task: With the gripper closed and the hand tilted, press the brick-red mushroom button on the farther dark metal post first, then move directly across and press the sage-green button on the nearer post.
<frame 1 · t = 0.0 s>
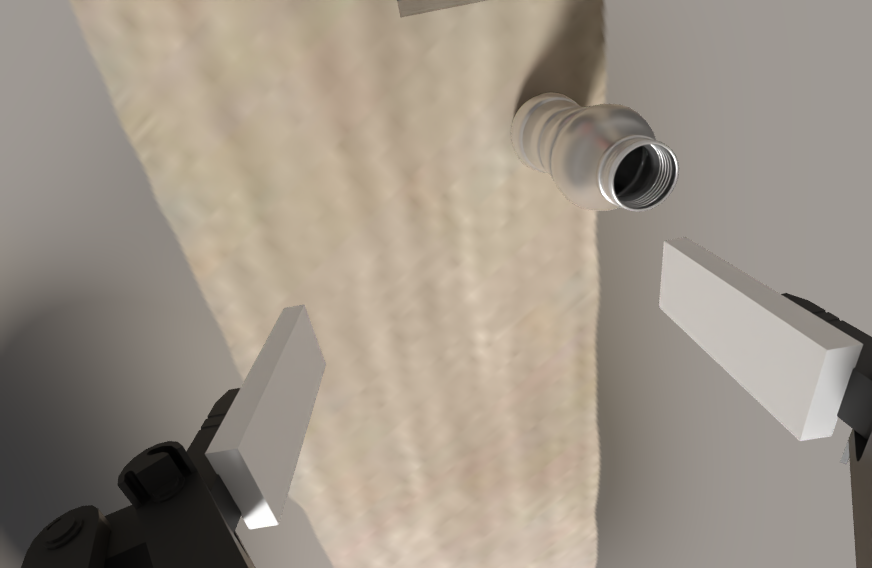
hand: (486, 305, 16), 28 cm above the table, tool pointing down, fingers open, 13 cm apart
plastic bottle: (539, 130, 40), on the table
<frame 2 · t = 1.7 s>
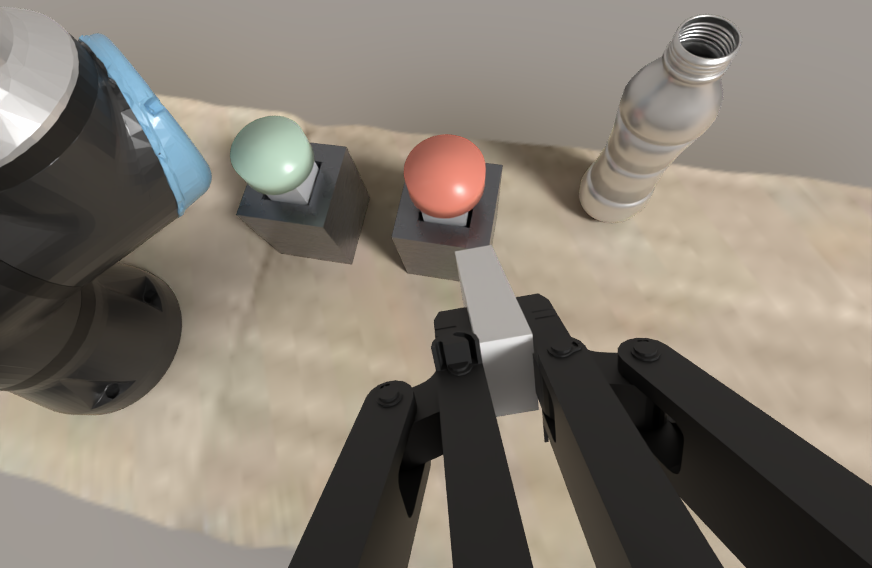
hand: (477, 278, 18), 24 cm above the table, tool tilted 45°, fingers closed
red button: (448, 201, 36), point 9 cm above the table, slide at 0.0 cm
green button: (292, 181, 38), point 9 cm above the table, slide at 0.0 cm
plastic bottle: (606, 202, 44), on the table
red button post: (453, 243, 44), on the table
green button post: (325, 224, 46), on the table
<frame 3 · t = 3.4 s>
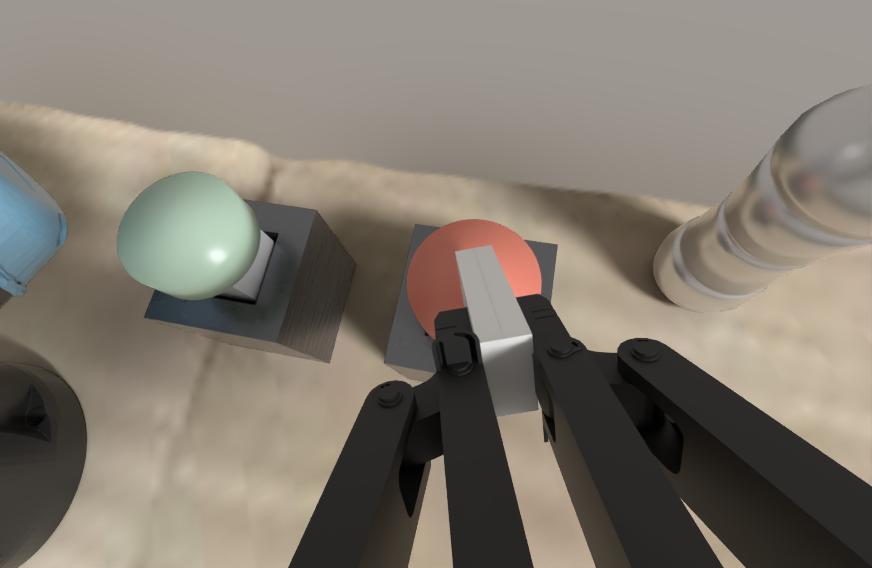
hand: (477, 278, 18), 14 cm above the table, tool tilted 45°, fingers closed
red button: (472, 307, 24), point 8 cm above the table, slide at 0.9 cm, touching gripper
green button: (233, 263, 25), point 9 cm above the table, slide at 0.0 cm
plastic bottle: (689, 277, 31), on the table
red button post: (472, 334, 31), on the table
green button post: (294, 302, 33), on the table
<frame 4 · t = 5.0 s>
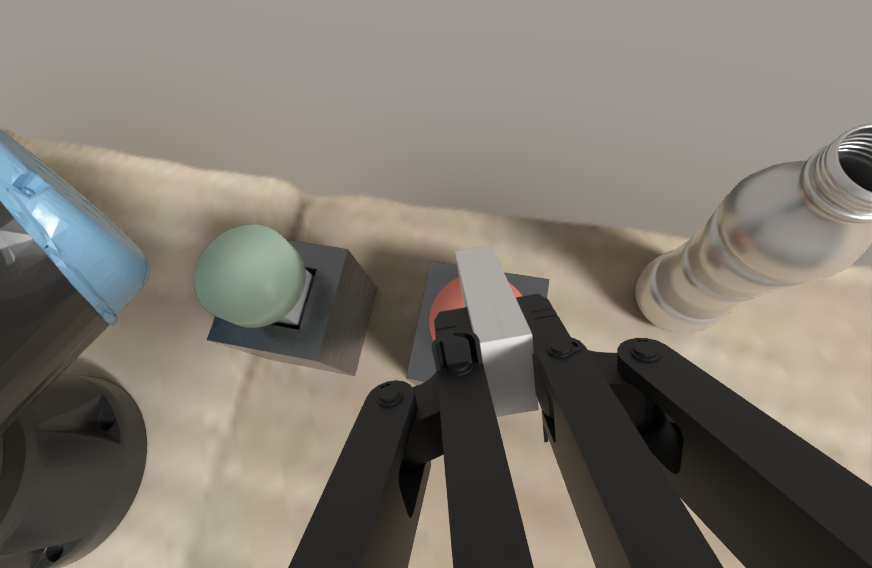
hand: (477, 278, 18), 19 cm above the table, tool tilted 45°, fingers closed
red button: (479, 336, 30), point 6 cm above the table, slide at 2.6 cm
green button: (279, 294, 30), point 9 cm above the table, slide at 0.0 cm
plastic bottle: (668, 300, 36), on the table
red button post: (478, 350, 36), on the table
green button post: (323, 323, 38), on the table
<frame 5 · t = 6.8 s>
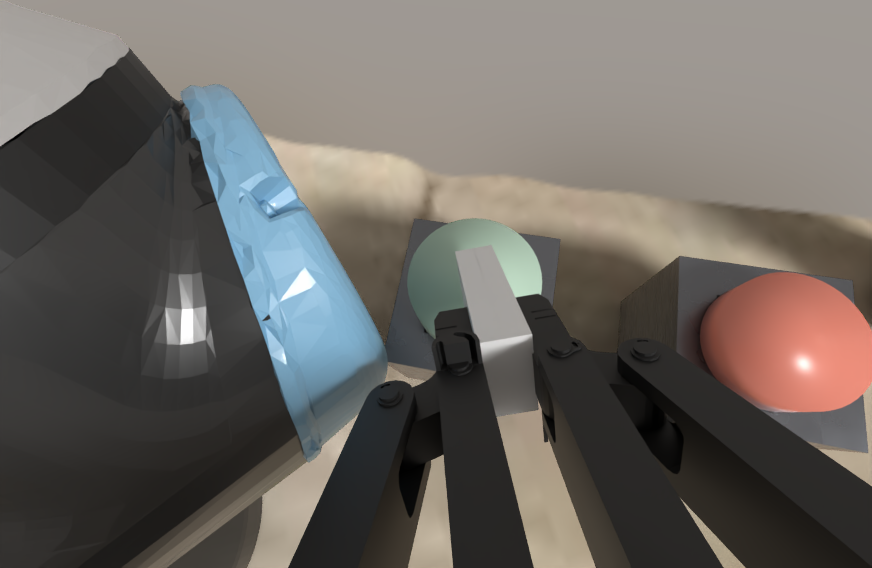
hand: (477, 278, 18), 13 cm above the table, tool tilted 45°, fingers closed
red button: (732, 354, 23), point 6 cm above the table, slide at 2.6 cm
green button: (473, 306, 24), point 7 cm above the table, slide at 1.5 cm, touching gripper
red button post: (678, 367, 29), on the table
green button post: (473, 331, 31), on the table
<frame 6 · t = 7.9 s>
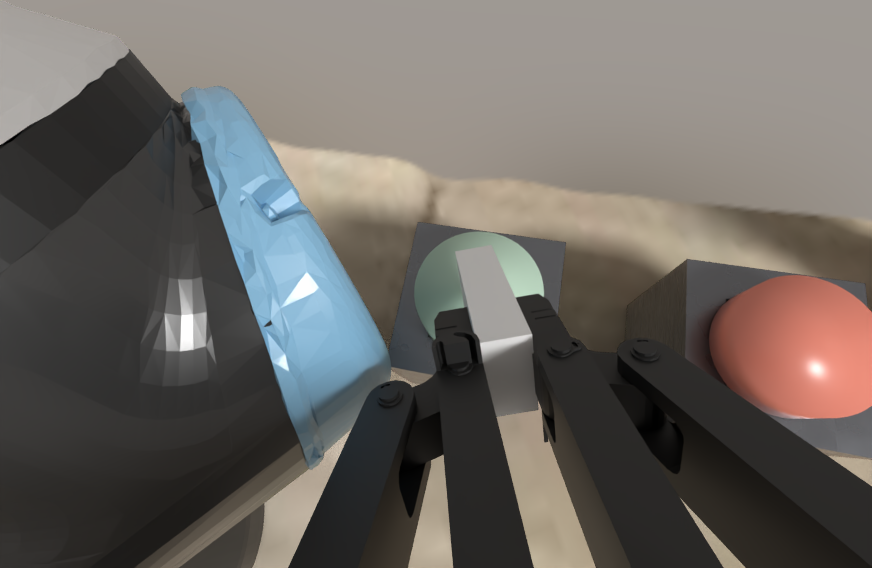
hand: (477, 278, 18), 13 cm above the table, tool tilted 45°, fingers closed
red button: (741, 359, 22), point 6 cm above the table, slide at 2.6 cm
green button: (477, 315, 24), point 6 cm above the table, slide at 2.6 cm
red button post: (686, 372, 28), on the table
green button post: (477, 336, 30), on the table
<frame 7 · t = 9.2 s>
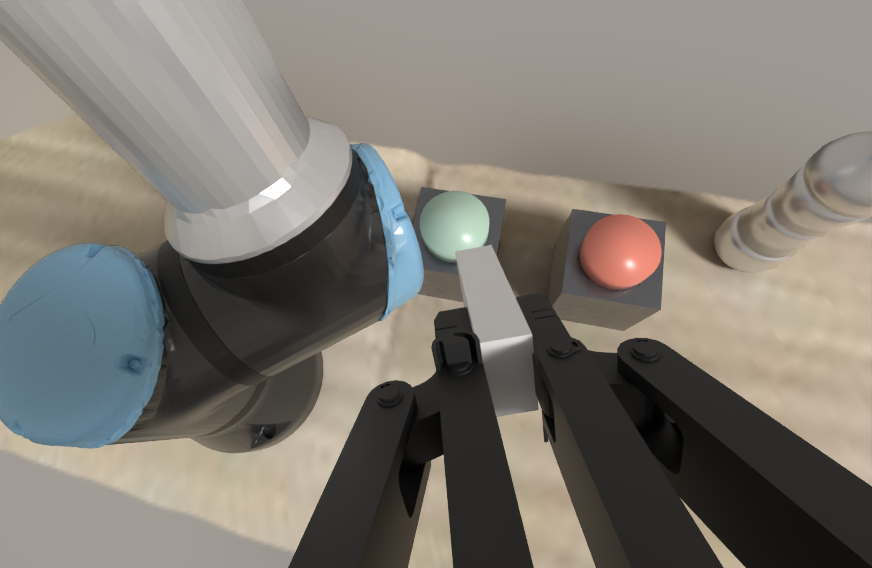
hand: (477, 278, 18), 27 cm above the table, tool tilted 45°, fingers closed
red button: (605, 267, 39), point 6 cm above the table, slide at 2.6 cm
green button: (456, 243, 41), point 6 cm above the table, slide at 2.6 cm
plastic bottle: (738, 250, 45), on the table
red button post: (587, 287, 45), on the table
green button post: (458, 265, 47), on the table
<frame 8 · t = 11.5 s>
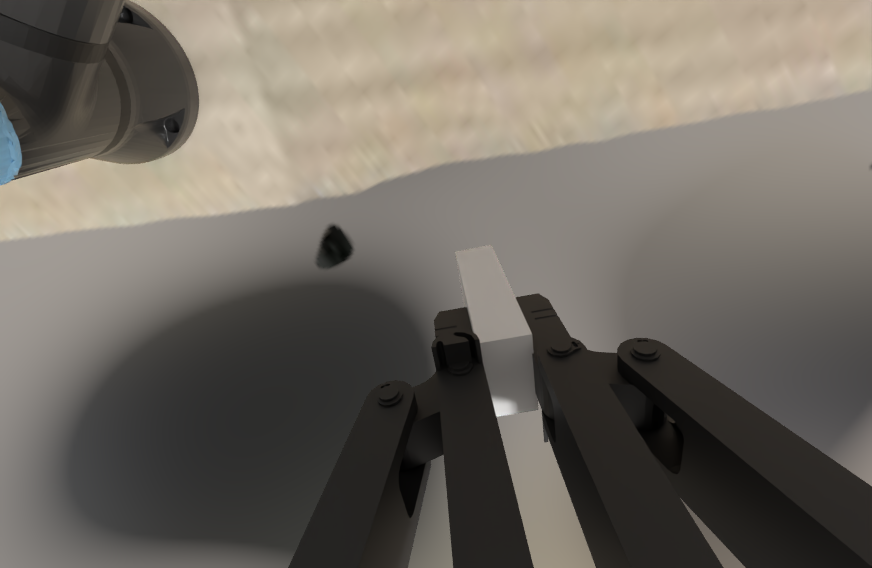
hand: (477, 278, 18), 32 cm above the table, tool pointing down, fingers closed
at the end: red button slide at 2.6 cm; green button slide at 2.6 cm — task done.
